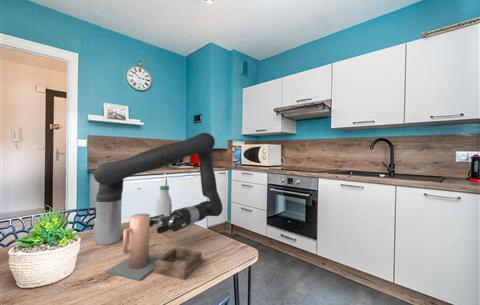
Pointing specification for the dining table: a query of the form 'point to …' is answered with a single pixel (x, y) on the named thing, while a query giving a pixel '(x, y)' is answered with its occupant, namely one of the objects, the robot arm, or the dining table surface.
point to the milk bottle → (164, 202)
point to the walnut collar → (178, 270)
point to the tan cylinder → (137, 241)
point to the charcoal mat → (135, 274)
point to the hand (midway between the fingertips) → (150, 228)
